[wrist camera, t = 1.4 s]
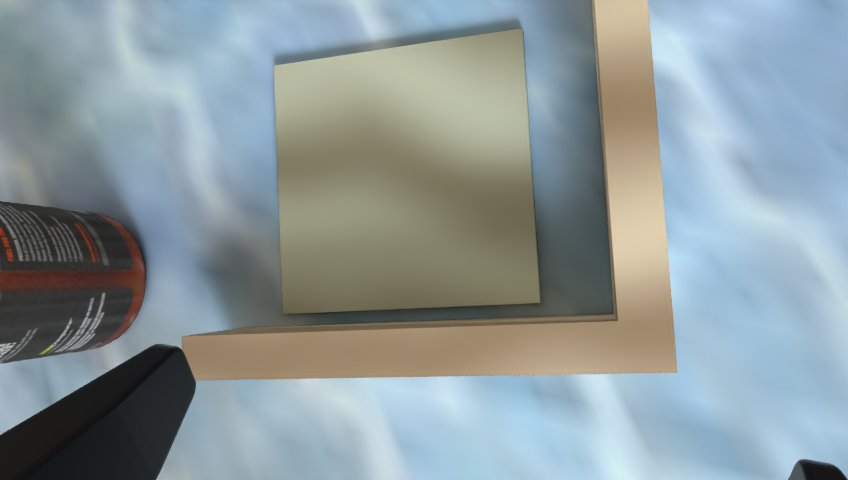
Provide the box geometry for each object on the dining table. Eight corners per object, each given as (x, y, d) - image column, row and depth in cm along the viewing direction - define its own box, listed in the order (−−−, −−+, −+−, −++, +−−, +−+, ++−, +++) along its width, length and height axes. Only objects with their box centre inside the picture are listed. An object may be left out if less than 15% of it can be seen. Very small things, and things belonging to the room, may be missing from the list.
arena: (663, 355, 22) (677, 372, 18) (244, 365, 26) (183, 380, 22) (632, -40, 23) (639, -103, 19) (233, 28, 27) (173, -13, 23)
